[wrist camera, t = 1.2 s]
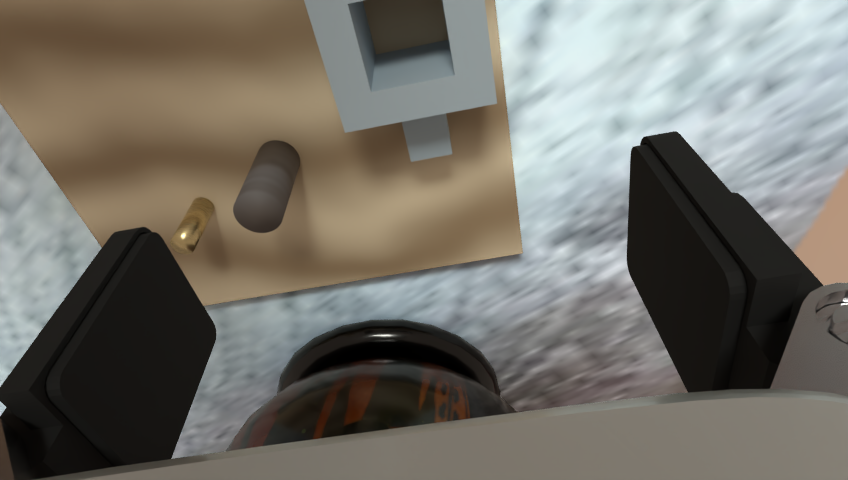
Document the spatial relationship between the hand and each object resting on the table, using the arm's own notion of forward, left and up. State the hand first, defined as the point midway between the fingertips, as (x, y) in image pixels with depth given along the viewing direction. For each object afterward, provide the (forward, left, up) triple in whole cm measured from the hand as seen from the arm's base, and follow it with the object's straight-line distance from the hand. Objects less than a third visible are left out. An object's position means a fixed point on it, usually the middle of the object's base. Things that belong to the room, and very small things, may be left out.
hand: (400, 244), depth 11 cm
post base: (+6, -8, -18) cm, 21 cm away
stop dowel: (+8, -13, -17) cm, 23 cm away
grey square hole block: (+1, 0, -17) cm, 17 cm away
